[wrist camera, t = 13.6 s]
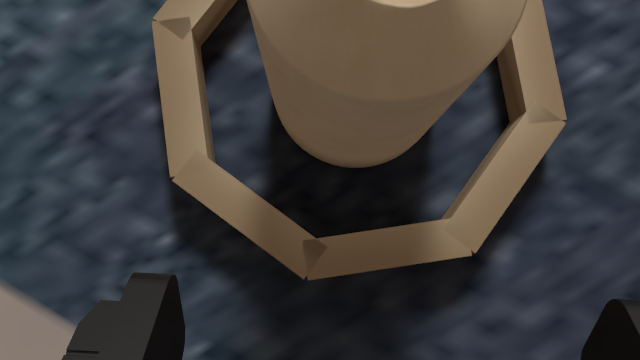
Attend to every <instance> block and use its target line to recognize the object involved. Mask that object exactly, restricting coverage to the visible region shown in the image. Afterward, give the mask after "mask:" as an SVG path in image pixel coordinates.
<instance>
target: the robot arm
mask: <svg viewBox="0 0 640 360" xmlns="http://www.w3.org/2000/svg"><path fill="white" fill-rule="evenodd" d="M184 344H185V323H184V317H183V311H182V305H181V299H180V293H179V287H178V281H177V277H176V276H175V275H174V274H155V273H133V274H132V275H131V277H130V278H129V280H128V283H127V285H126V287H125V290H124V292H123V295H122V297H121V300H120V301H106V300H101V301H100V302H99V303H98V304H97V305H96V306H95V307H94V308H93V309H92V310H91V311H90V312H89V313H88V314H87V315H86V316H85V317H84V318H83V319H82V320H81V321H80V322H79V324H78V326H77V328H76V330H75V332H74V335H73V337H72V339H71V341H70V343H69V345H68V347H67V352H66V355H64V356H63V358H62V360H182V357H183V351H184ZM581 360H640V300H624V299H612V300H610V301H609V302H608V303H607V304H606V306H605V307H604V309H603V311H602V313H601V315H600V317H599V319H598V321H597V322H596V324H595V326H594V328H593V330H592V332H591V334H590V336H589V338H588V339H587V341H586V343H585V345H584V347H583V350H582V354H581Z"/></svg>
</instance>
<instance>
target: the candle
mask: <svg viewBox="0 0 640 360" xmlns="http://www.w3.org/2000/svg"><path fill="white" fill-rule="evenodd" d="M526 3H527V0H247V4H248V8H249V12H250V15H251V19H252V23H253V27H254V30H255V34H256V38H257V42H258V45H259V49H260V53H261V57H262V60H263V64H264V68H265V72H266V75H267V79H268V83H269V87H270V90H271V94H272V98H273V101H274V104H275V108H276V111H277V114H278V116H279V118H280V120H281V123H282V125H283V126H284V128H285V130H286V131H287V133H288V134H289V135H290V137H291V138H292V139H293V140H294V141H295V142H296V143H297V144H298V145H299V146H300V147H301V148H302V149H303V150H305V151H306V152H307V153H309V154H310V155H312V156H314V157H315V158H317V159H319V160H321V161H324V162H326V163H329V164H332V165H336V166H341V167H349V168H365V167H371V166H376V165H379V164H382V163H386V162H388V161H390V160H392V159H394V158H396V157H398V156H399V155H401V154H403V153H404V152H406V151H407V150H408V149H409V148H410V147H412V146H413V145H414V144H415V143H416V142H417V141H418V140H419V139H420V138H421V137H422V136H423V135H424V134H425V133H426V132H427V130H428V129H429V128H430V127H431V126H432V125H433V124H434V123H435V122H436V121H437V120H438V119H439V118H440V117H441V115H442V114H443V113H444V112H445V111H446V110H447V109H448V108H449V107H450V106H451V105H452V104H453V103H454V102H455V100H456V99H457V98H458V97H459V96H460V95H461V94H462V93H463V92H464V91H465V90H466V89H467V88H468V87H469V85H470V84H471V83H472V82H473V81H474V80H475V79H476V78H477V77H478V76H479V75H480V74H481V73H482V71H483V70H484V69H485V68H486V67H487V66H488V65H489V64H490V63H491V62H492V61H493V60H494V58H495V57H496V56H497V55H498V54H499V53H500V52H501V51H502V50H503V48H504V47H505V45H506V44H507V42H508V41H509V40H510V38H511V37H512V35H513V34H514V32H515V30H516V28H517V26H518V24H519V22H520V20H521V18H522V15H523V12H524V9H525V6H526Z"/></svg>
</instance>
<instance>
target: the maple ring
mask: <svg viewBox="0 0 640 360" xmlns="http://www.w3.org/2000/svg"><path fill="white" fill-rule="evenodd" d="M237 1H238V0H167V1H166V3H165V4H164V5H163V6H162V8H161V9H160V10H159V11H158V12H157V14H156V15H155V16H154V17H153V19H154V20H155V21H153V22H152V28H153V36H154V45H155V54H156V62H157V71H158V79H159V88H160V96H161V105H162V113H163V122H164V130H165V139H166V148H167V156H168V165H169V173H170V177H171V178H173V180H172V181H173V182H175V183H176V184H177V185H179V186H180V187H181V188H183V189H184V190H185V191H187V192H188V193H189V194H191V195H192V196H193V197H194V198H196V199H197V200H198V201H200V202H201V203H202V204H204V205H205V206H206V207H208V208H209V209H210V210H212V211H213V212H214V213H216V214H217V215H218V216H220V217H221V218H222V219H224V220H225V221H226V222H228V223H229V224H230V225H232V226H233V227H234V228H236V229H237V230H238V231H240V232H241V233H242V234H244V235H245V236H246V237H248V238H249V239H250V240H252V241H253V242H254V243H256V244H257V245H258V246H260V247H261V248H262V249H264V250H265V251H266V252H268V253H269V254H270V255H272V256H273V257H274V258H276V259H277V260H278V261H280V262H281V263H282V264H284V265H285V266H286V267H288V268H289V269H290V270H292V271H293V272H294V273H296V274H297V275H298V276H300V277H301V278H302V279H305V277H306V276H307V278H308V281H309V280H315V279H322V278H328V277H335V276H341V275H348V274H354V273H361V272H368V271H374V270H381V269H387V268H394V267H400V266H407V265H413V264H420V263H427V262H433V261H440V260H446V259H453V258H459V257H466V256H472V253H476V252H477V251H478V249H479V248H480V246H481V245H482V243H483V242H484V240H485V239H486V238H487V236H488V235H489V233H490V232H491V230H492V229H493V228H494V226H495V225H496V223H497V222H498V220H499V219H500V217H501V216H502V215H503V213H504V212H505V210H506V209H507V207H508V206H509V205H510V203H511V202H512V200H513V199H514V197H515V196H516V194H517V193H518V192H519V190H520V189H521V187H522V186H523V184H524V183H525V182H526V180H527V179H528V177H529V176H530V174H531V173H532V171H533V170H534V169H535V167H536V166H537V164H538V163H539V161H540V160H541V159H542V157H543V156H544V154H545V153H546V151H547V150H548V148H549V147H550V146H551V144H552V143H553V141H554V140H555V138H556V137H557V135H558V134H559V133H560V131H561V130H562V128H563V127H564V125H565V124H566V123H565V122H564V121H565V120H567V118H566V113H565V108H564V104H563V99H562V94H561V89H560V85H559V80H558V75H557V70H556V66H555V61H554V56H553V51H552V46H551V42H550V37H549V32H548V27H547V23H546V18H545V13H544V8H543V3H542V0H527V3H526V6H525V9H524V12H523V15H522V18H521V20H520V22H519V24H518V26H517V28H516V30H515V32H514V34H513V35H512V37H511V38H510V40H509V41H508V42H507V44H506V45H505V47H504V48H503V50H502V51H501V52H500V53H499V54H498V55H497V60H498V66H499V71H500V76H501V81H502V86H503V91H504V96H505V101H506V106H507V111H508V117H509V122H510V123H509V124H508V126H507V127H506V128H505V130H504V131H503V133H502V134H501V135H500V137H499V138H498V140H497V141H496V143H495V144H494V145H493V147H492V148H491V150H490V151H489V152H488V154H487V155H486V157H485V158H484V159H483V161H482V162H481V164H480V165H479V166H478V168H477V169H476V171H475V172H474V174H473V175H472V176H471V178H470V179H469V181H468V182H467V183H466V185H465V186H464V188H463V189H462V190H461V192H460V193H459V195H458V196H457V197H456V199H455V200H454V202H453V203H452V205H451V206H450V207H449V209H448V210H447V212H446V213H445V214H444V216H443V217H442V219H441V220H436V221H429V222H423V223H416V224H409V225H403V226H396V227H389V228H383V229H376V230H370V231H363V232H356V233H350V234H343V235H336V236H330V237H323V238H315V237H313V236H312V235H311V234H309V233H308V232H307V231H305V230H304V229H303V228H301V227H300V226H299V225H297V224H296V223H295V222H293V221H292V220H291V219H289V218H288V217H287V216H285V215H284V214H282V213H281V212H280V211H278V210H277V209H276V208H274V207H273V206H272V205H270V204H269V203H268V202H266V201H265V200H264V199H262V198H261V197H260V196H258V195H257V194H256V193H254V192H253V191H252V190H250V189H249V188H248V187H246V186H245V185H244V184H242V183H241V182H239V181H238V180H237V179H235V178H234V177H233V176H231V175H230V174H229V173H227V172H226V171H225V170H223V169H222V168H221V167H219V166H218V165H217V164H216V163H215V155H214V147H213V139H212V131H211V123H210V116H209V108H208V100H207V92H206V84H205V77H204V69H203V61H202V53H201V46H202V44H203V43H204V42H205V41H206V39H207V38H208V37H209V36H210V34H211V33H212V32H213V31H214V29H215V28H216V27H217V26H218V25H219V23H220V22H221V21H222V20H223V18H224V17H225V16H226V15H227V13H228V12H229V11H230V10H231V8H232V7H233V6H234V5H235V3H236V2H237Z"/></svg>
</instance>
